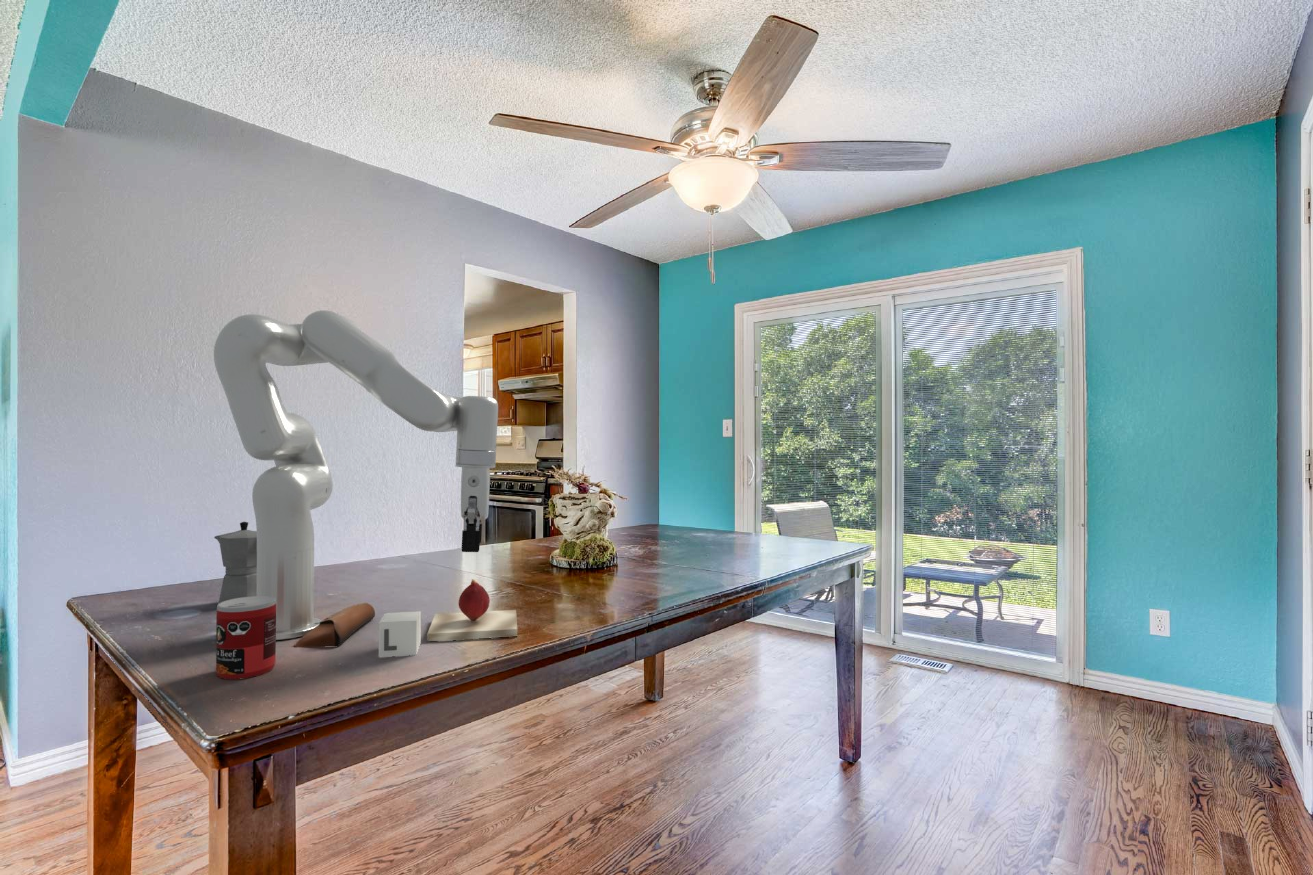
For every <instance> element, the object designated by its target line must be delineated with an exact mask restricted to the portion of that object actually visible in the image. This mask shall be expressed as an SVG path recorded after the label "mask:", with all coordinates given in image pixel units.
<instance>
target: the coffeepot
mask: <svg viewBox="0 0 1313 875" xmlns="http://www.w3.org/2000/svg"><path fill="white" fill-rule="evenodd" d="M239 526H240V530H236V531H233V532H227V533H223V534H219V535H215V536H214V537H213V538H214V539H215V540H216V541H217V542H218V544H219V548H220V549H219V550H220V555H221V560H222V566H223V567H224V568H225V574H224V576H223V579H222V585H221V589H220V594H219V598H218V604H219V603H221V602H224V601H227V600H231V599H236V598H242V597H252V596H256V592H257V530H251V529H248V526H249V522H248V521H242V522H240V523H239ZM218 604H217V605H218Z"/></svg>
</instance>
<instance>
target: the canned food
mask: <svg viewBox="0 0 1313 875" xmlns="http://www.w3.org/2000/svg"><path fill="white" fill-rule="evenodd" d="M218 603H219V602H218ZM215 619H216V625H215V626H216V629H215V630H216V631H215V632H216V633H215V638H216V640H215V642H216V643H215V672H216V675H217V677H218V676H219V677H218V678H219V679H222V678H226V679H225V680H229V679H234V680H241V679H240V678H245V679H248V677H250V678H253V677H252V676H255V677H257V676H256V675H259V676H261V674H262V675H265V674H266V672H267V673H269V672H270V671H272V670H273V669H274V668H275V664H276V656H277V655H276V651H277V650H276V648H277V647H276V646H277V642H276V641H277V640H276V599H275V598H273V597H268V596H252V597H242V598H236V599H231V600H227V601H224V602H221V603H219V604H217V605H216V618H215ZM268 671H269V672H268ZM264 673H265V674H264Z"/></svg>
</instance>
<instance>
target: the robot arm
mask: <svg viewBox="0 0 1313 875" xmlns="http://www.w3.org/2000/svg"><path fill="white" fill-rule="evenodd" d="M213 347H214V348H213V362H214V367H215V369H216V374H217V376H218V378H219V381H220V383H221V385H222V389H223V391H224V394H225V396H226V399H227V402H228V405H229V409H230V412H231V415H232V417H233V420H234V423H235V425H236V428H237V432H238V434H239V435H238V436H239V438H240V441H241V445H243V448H244V451H245V452H246V453H247V454H248V455H249V456H250V457H252V458H253V459H256V460H259V461H273V462H274V465H275V466H273V467H270V468H268V469H266V470H265V471H263V472H262V474H261V473H260V475H259V476H258V478H257V479H256V480H255V483H254V484H253V488H252V497H251V498H252V500H251V501H252V506H253V511H254V516H255V527H256V531H257V592H256V596H268V597H273V598H275V599H276V641H279V640H288V639H289V640H290V639H294V638H301V637H303V636H304V635H306V634H307V633H308V632H309V631H311V630H312V629H314V628H315V627H317V626H318V625H319V624H320V623H319V622H321V621H323V620H322V619H321V618H318V617H315V616H314V607H315V606H314V602H315V601H314V600H315V599H314V598H315V595H314V594H315V589H314V588H315V530H314V523H313V519H312V515H311V511H312V510H314V509H317V508H319V507H321V506H323V505H324V504H326V503H327V501H328V500H329V499H330V497H331V495H332V492H333V487H334V486H333V485H334V484H333V478H332V474H331V472H330V469H329V465H328V463H327V460H326V457H325V454H324V451H323V449H322V446H321V443H320V440H319V437H318V434H317V432H316V430H315V428H314V427H313V425H312V424H311V423H310V422H309V421H308V420H307V418H304V417H303V416H301V415H300V414H297V413H293V412H288V411H287V410H286V408H285V404H284V403H283V400H282V397H281V395H280V391H279V388H278V385H277V384H276V382H275V380H274V378H273V377H272V375H271V374H270V372H269V370H268V368H267V365H266V363H267V364H271V365H276V366H281V367H295V366H307V365H314V364H315V365H316V364H317V365H318V364H326V363H329V364H330V365H332V366H333V367H334V368H336V369H338V370H339V371H341V372H342V373H344V374H345V375H347V377H349V379H352V380H353V381H355V382H356V383H357V384H359V385H360V386H361V387H363V388H364V389H365V390H366V391H367V392H368V393H369V394H371V395H372V396H373V397H375V398H376V399H377V400H378V401H379V402H380V403H382V404H383V405H384V406H386V407H387V408H388V409H389V410H391V411H392V412H394V413H395V414H396V415H398V416H399V417H401V418H402V419H404V420H405V421H406V422H408V423H410V424H411V425H413V427H415V428H417V429H419V430H422V431H424V432H434V433H447V432H456V445H455V446H456V450H455V467H456V468H461V474H460V475H461V477H460V478H461V479H460V514H461V515H460V517H461V518H462V519H463V520H464V521H463V530H462V533H461V534H462V535H461V552H462V553H478V552H479V551H480V544H481V543H482V532H483V523H482V518H483V520H487V519H488V518H489V510H490V509H489V507H490V490H491V489H490V485H491V484H490V483H491V472H490V469H494V468H496V463H497V461H496V460H497V459H496V456H497V442H498V441H497V440H498V437H497V434H498V422H499V421H498V419H499V417H498V416H499V403H498V401H497V399H496V398H493V397H491V396H482V395H481V396H480V395H465V396H462V397H458V396H452V395H448V394H445V393H441V392H438V391H436V390H435V389H434V388H432V387H431V386H429V385H428V384H427V383H424V382H423V381H422V380H420V379H419V378H418V377H416V376H415V375H414V374H412V373H411V372H410V371H409V370H407V369H406V368H404V367H403V365H402V364H401V363H400V362H399V361H398V358H397V357H396V355H395V354H394V353H393V352H392V351H390V349H389V348H387V347H385V346H384V345H382V344H381V343H379V342H378V341H376V340H375V339H374V338H373V337H371V336H369V335H368V334H367V333H365V332H364V331H362V328H360V326H359V325H358V324H357V323H355V322H354V321H353V320H351V319H349V318H347V317H345V316H343V315H342V314H339V313H336V312H334V311H331V310H327V309H326V310H318V311H314V312H311V313H310V314H308V315H307V316H306V317H305V318H304V319H303V321H302V322H301V323H295V324H288V323H285V322H283V321H280V320H277V319H274V318H272V317H269V316H265V315H261V314H255V313H254V314H252V313H251V314H249V313H248V314H243V315H239V316H236V317H235V318H233V319H231V320H230V321H229V322H228V323H226V324H225V325H224V326H223V328H222V329H220V331H219V333H218V335H217V337H216V340H215V343H214V346H213Z"/></svg>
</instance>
